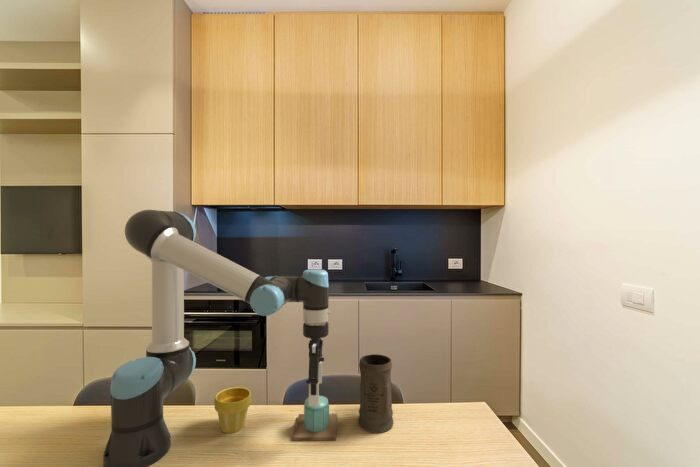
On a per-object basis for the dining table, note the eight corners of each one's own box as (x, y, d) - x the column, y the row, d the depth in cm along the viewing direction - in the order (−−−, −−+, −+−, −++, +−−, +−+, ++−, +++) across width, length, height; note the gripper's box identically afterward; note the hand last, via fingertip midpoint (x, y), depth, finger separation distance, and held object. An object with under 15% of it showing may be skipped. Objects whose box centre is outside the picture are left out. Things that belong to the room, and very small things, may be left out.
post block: (292, 440, 95) (292, 415, 95) (298, 417, 107) (298, 395, 107) (335, 440, 95) (335, 415, 95) (337, 417, 107) (336, 394, 107)
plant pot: (256, 418, 107) (256, 387, 107) (242, 438, 97) (242, 403, 96) (224, 416, 108) (224, 385, 108) (207, 436, 98) (207, 402, 97)
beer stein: (395, 435, 98) (395, 364, 99) (358, 434, 98) (358, 363, 99) (390, 410, 113) (390, 349, 114) (358, 410, 113) (358, 349, 114)
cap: (319, 434, 97) (319, 409, 97) (299, 427, 100) (299, 403, 100) (333, 422, 103) (332, 399, 103) (313, 415, 106) (313, 393, 106)
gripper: (326, 335, 89) (326, 416, 89) (330, 311, 113) (330, 375, 114) (297, 335, 88) (297, 416, 89) (307, 311, 113) (307, 375, 114)
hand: (315, 393), depth 101 cm, fingers open, 13 cm apart
